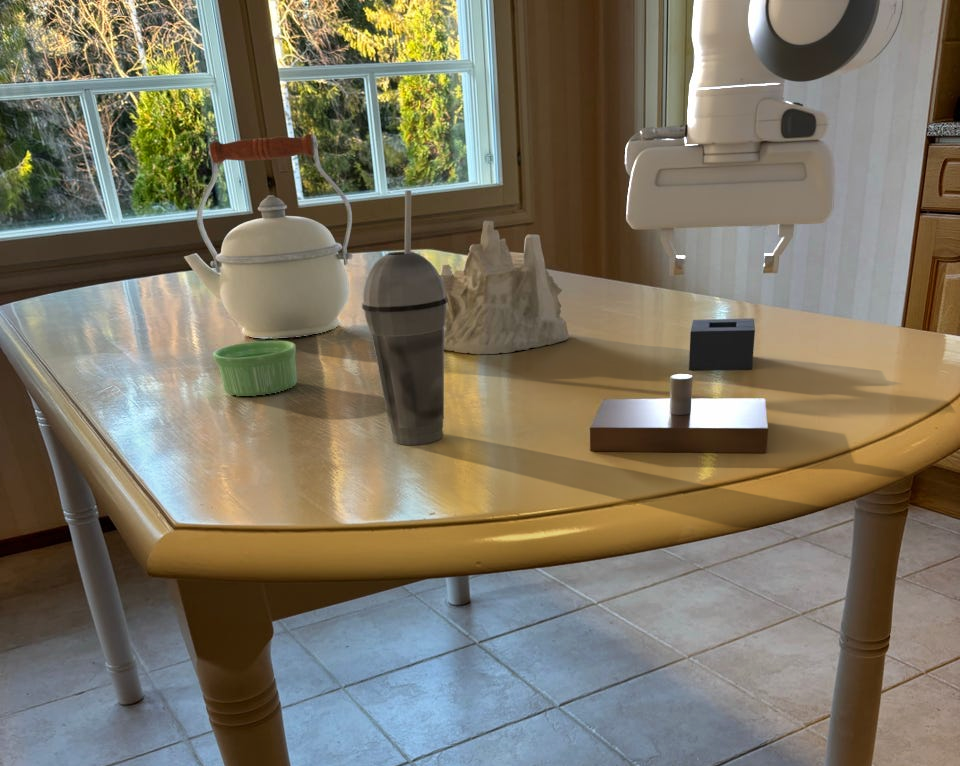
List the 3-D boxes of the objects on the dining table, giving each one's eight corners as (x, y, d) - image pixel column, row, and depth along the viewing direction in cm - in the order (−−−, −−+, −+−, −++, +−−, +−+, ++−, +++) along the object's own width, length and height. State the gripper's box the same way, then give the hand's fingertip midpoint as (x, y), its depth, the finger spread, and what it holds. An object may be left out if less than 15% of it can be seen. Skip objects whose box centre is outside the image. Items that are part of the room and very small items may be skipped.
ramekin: (315, 379, 106) (310, 340, 104) (275, 400, 99) (268, 358, 97) (249, 378, 109) (242, 339, 107) (204, 397, 102) (196, 357, 100)
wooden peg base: (763, 421, 81) (768, 362, 78) (766, 453, 73) (771, 389, 71) (603, 420, 84) (603, 364, 82) (589, 451, 77) (589, 390, 74)
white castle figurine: (584, 338, 116) (574, 206, 109) (466, 364, 110) (448, 227, 104) (527, 329, 129) (515, 211, 122) (418, 351, 123) (399, 229, 117)
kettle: (377, 315, 142) (356, 130, 130) (350, 339, 127) (323, 131, 115) (221, 323, 146) (187, 144, 134) (176, 347, 130) (132, 146, 118)
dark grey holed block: (751, 355, 103) (754, 318, 101) (752, 369, 97) (754, 330, 95) (691, 356, 104) (693, 319, 102) (688, 370, 99) (690, 331, 97)
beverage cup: (368, 433, 85) (338, 194, 76) (443, 421, 87) (423, 186, 78) (390, 454, 79) (360, 197, 70) (469, 441, 81) (451, 188, 72)
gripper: (622, 129, 90) (619, 280, 96) (846, 116, 85) (827, 276, 92) (629, 127, 95) (625, 271, 102) (840, 115, 90) (822, 267, 97)
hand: (723, 273), depth 97 cm, fingers open, 8 cm apart
